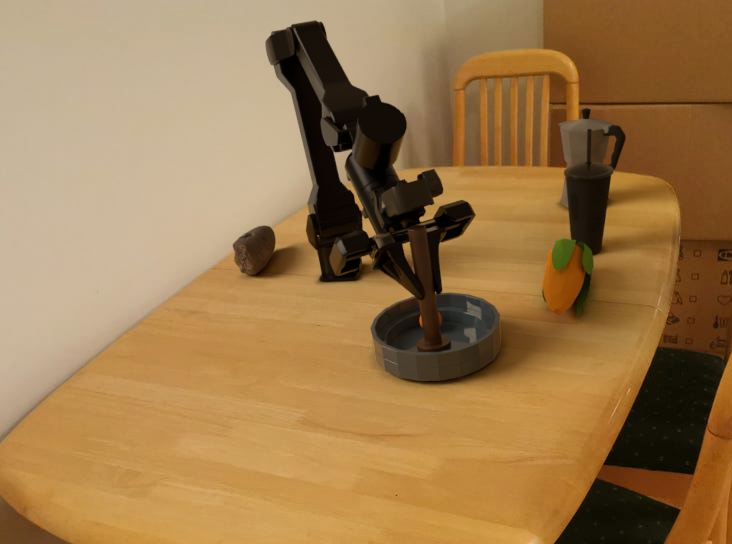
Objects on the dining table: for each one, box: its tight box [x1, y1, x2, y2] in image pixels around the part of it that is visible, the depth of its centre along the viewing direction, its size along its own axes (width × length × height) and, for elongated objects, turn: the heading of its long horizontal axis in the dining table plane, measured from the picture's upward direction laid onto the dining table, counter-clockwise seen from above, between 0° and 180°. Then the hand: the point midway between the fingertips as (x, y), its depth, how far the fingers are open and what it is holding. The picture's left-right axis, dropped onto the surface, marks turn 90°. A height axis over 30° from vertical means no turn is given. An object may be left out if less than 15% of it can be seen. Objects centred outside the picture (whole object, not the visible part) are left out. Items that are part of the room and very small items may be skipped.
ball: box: [419, 312, 442, 328], centre depth 97 cm, size 3×3×3 cm
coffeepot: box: [557, 107, 627, 209], centre depth 131 cm, size 15×9×18 cm, turn 37°
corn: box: [541, 238, 595, 316], centre depth 101 cm, size 7×8×20 cm
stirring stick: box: [408, 225, 451, 352], centre depth 86 cm, size 4×4×16 cm
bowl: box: [369, 291, 502, 382], centre depth 93 cm, size 17×17×4 cm
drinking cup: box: [563, 129, 615, 256], centre depth 112 cm, size 8×8×20 cm
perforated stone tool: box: [232, 225, 277, 276], centre depth 127 cm, size 15×5×7 cm, turn 167°
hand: (431, 296), depth 85 cm, fingers closed on stirring stick, 2 cm apart
